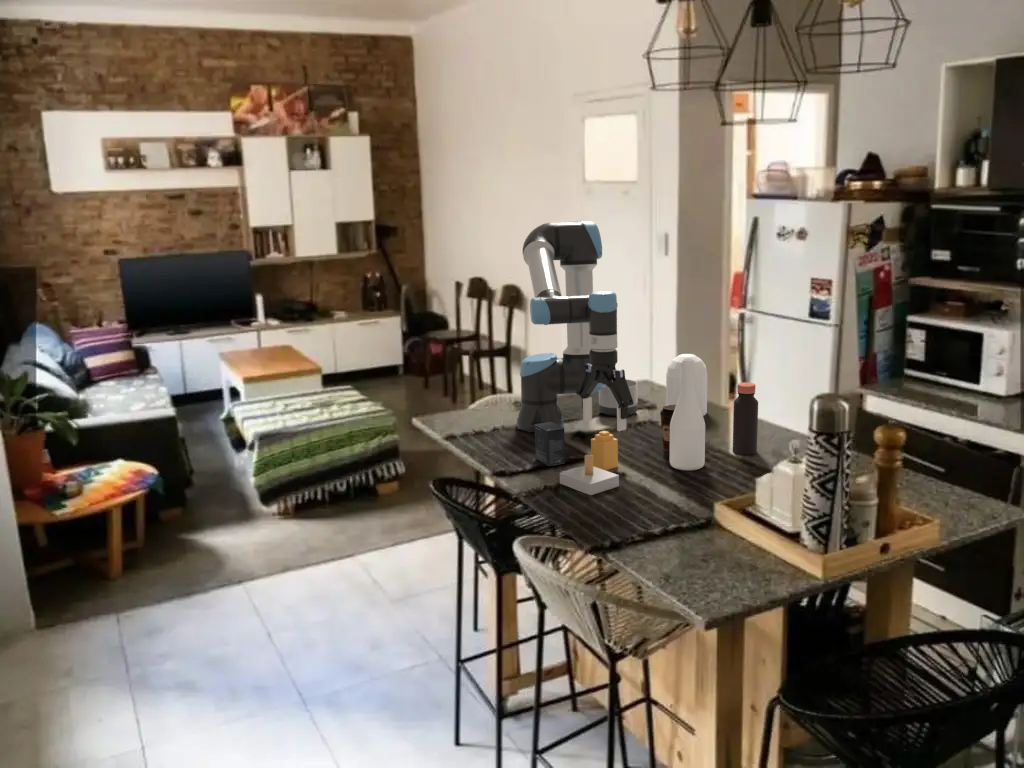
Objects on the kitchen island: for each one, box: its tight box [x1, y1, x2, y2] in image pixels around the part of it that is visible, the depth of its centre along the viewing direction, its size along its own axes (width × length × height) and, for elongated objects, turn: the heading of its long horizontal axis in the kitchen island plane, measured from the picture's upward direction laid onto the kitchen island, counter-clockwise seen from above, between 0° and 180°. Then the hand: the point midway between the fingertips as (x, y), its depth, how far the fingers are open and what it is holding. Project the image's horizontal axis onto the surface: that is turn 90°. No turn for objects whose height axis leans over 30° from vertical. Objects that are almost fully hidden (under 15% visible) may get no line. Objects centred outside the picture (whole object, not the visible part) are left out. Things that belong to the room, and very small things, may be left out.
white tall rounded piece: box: [669, 359, 706, 471], centre depth 246 cm, size 10×10×30 cm
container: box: [665, 353, 708, 417], centre depth 300 cm, size 14×13×20 cm
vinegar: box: [732, 381, 759, 456], centre depth 257 cm, size 7×7×20 cm
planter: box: [598, 378, 639, 418], centre depth 303 cm, size 13×13×10 cm
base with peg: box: [559, 453, 620, 496], centre depth 238 cm, size 15×10×8 cm, turn 37°
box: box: [534, 422, 566, 467], centre depth 256 cm, size 8×6×11 cm
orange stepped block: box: [590, 430, 619, 471], centre depth 250 cm, size 5×5×10 cm
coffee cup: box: [659, 405, 676, 453], centre depth 262 cm, size 9×8×13 cm
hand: (604, 425), depth 248 cm, fingers open, 13 cm apart
